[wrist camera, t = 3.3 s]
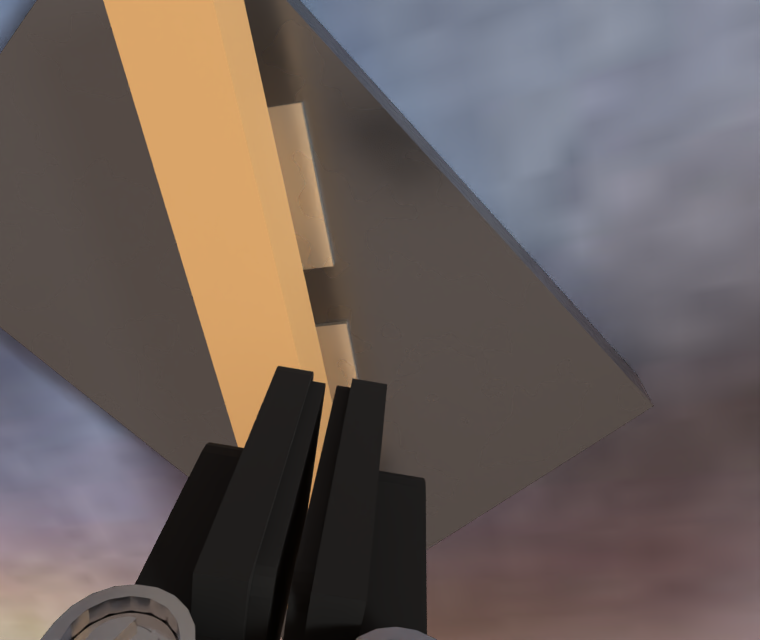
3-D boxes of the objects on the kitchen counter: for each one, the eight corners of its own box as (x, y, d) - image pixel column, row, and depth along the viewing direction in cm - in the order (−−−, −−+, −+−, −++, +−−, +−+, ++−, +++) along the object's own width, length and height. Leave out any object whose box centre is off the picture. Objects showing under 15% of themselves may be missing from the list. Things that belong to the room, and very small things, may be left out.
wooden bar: (386, 602, 25) (380, 665, 22) (305, 606, 25) (290, 667, 23) (252, -39, 16) (218, -47, 13) (128, -15, 16) (74, -19, 14)
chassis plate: (637, 375, 24) (667, 431, 21) (350, 564, 29) (339, 632, 26) (173, -140, 18) (117, -172, 15) (-78, 213, 23) (-159, 245, 20)
